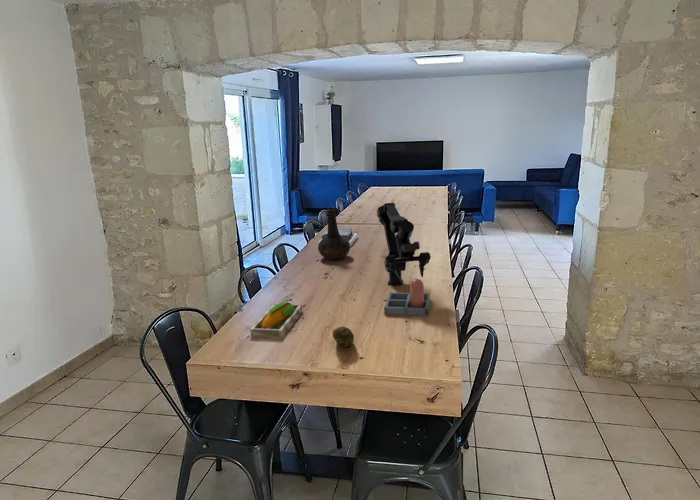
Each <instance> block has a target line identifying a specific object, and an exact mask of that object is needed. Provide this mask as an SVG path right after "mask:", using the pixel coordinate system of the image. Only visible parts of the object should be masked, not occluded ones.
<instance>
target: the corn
mask: <svg viewBox="0 0 700 500" xmlns="http://www.w3.org/2000/svg"><path fill="white" fill-rule="evenodd" d="M276 304H277V305H276V306H274V307H273V308H271V307H270V308H271V309H270V308H269V309H270V311H269V312H270V313H269V314H268V315H267V316H266V317H265V319H264V320H263V322H262V328H261V329H272V328H274V329H280V328H281V327H282V326H283V324H284V323H285V322H286V321H287V320H288V318H289V317H290V316H291V315H292V313H293V312H294V306H293V305H292V303H290V302H288V301H287V302H286V301H281V302H279V303H276Z"/></svg>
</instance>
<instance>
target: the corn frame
mask: <svg viewBox="0 0 700 500" xmlns="http://www.w3.org/2000/svg"><path fill="white" fill-rule="evenodd" d="M277 304H278V303H273V304H272V306H271V307H270V308H269V309H268V310H267V311H266V312H265V313H264V314H263V315H262V316H261V317H260V318H259V319H258V320H257V322H256V323H255V324H254V325H253V326H252V327H251V328H250V329H249V331H250V337H251V338H252V337H253V338H267V339H268V338H270V339H283V338H284V336H285V335H286V334H287V333H288V331H289V330H290V328H291V327H292V326H293V325H294V323H295V322H296V320H298V318H299V316H301V314H302V313H303V305H302V304H294V303H293V304H292V303H291V304H292V305H293V306H294V312H293V313H292V315H291V316H290V317H289V318H287V319H288V320H287V319H286V320H287V321H286V322H285V323H284V324H283V325H282V326H281V327H279V328H278V329H275V328H266V329H264V328H262V322H263V320H264V319H265V317H266V316H267V315H268V314H269V313H270V312H269V311H270V309H271V308H273V307H274V306H276V305H277Z"/></svg>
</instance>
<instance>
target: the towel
mask: <svg viewBox="0 0 700 500" xmlns="http://www.w3.org/2000/svg"><path fill="white" fill-rule="evenodd" d="M337 228H338V227H337ZM352 230H353V229H352V227H342V228H341V227H340V228H338V231H339V234H340V235H341V236H342V237H344V238H346V239H347V240H348V241H350V240H351V238H352V235H353V234H352V233H353V231H352ZM327 233H328V229H327V230H325V232H324V233H323V234H322V235H321V239H323V238H325V237H326V236H327Z"/></svg>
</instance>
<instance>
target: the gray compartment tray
mask: <svg viewBox="0 0 700 500" xmlns="http://www.w3.org/2000/svg"><path fill="white" fill-rule="evenodd" d="M385 301H386V302H385V304H384V307H383V309H384V315H387V316H412V317H428V316H429V312H430V311H429V310H430V302H431V293H429V292H428V293H427V292H426V293H425V292H424V308H412V307H410V292H389V294H388V297H387V299H386V300H385Z"/></svg>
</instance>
